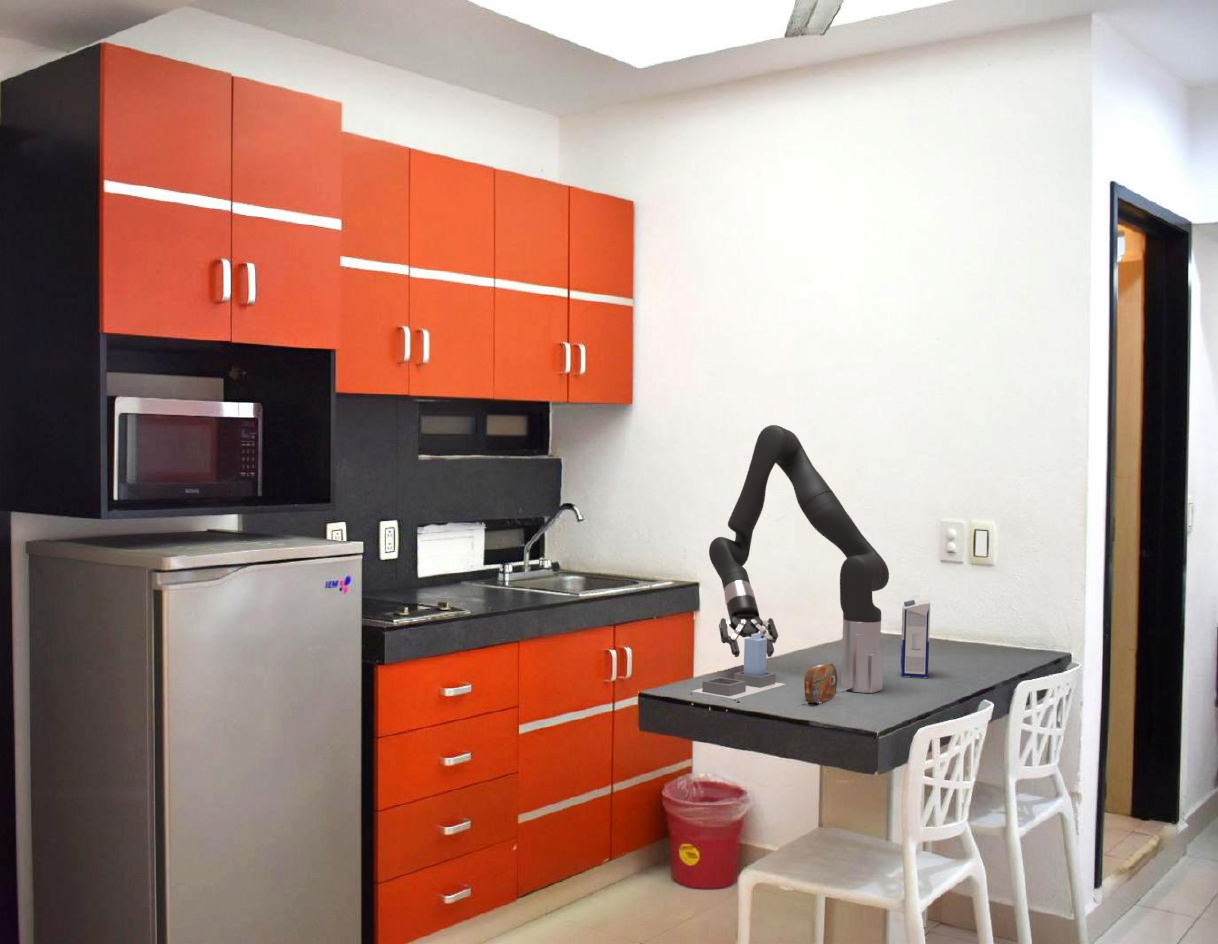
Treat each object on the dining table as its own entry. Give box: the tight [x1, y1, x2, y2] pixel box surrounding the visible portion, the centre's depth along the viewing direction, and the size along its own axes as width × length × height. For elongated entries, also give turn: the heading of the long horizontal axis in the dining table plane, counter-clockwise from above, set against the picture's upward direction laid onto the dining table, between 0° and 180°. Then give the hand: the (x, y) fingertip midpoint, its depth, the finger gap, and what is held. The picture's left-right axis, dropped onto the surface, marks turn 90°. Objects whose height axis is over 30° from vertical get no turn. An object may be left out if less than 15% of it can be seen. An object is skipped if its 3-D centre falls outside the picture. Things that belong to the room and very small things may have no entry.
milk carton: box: [900, 599, 931, 678], centre depth 317 cm, size 7×7×20 cm
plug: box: [743, 632, 768, 677], centre depth 294 cm, size 4×4×12 cm
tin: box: [803, 662, 838, 705], centre depth 281 cm, size 15×3×8 cm, turn 148°
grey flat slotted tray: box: [691, 670, 787, 701], centre depth 289 cm, size 12×24×4 cm, turn 142°
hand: (754, 655), depth 295 cm, fingers open, 8 cm apart
